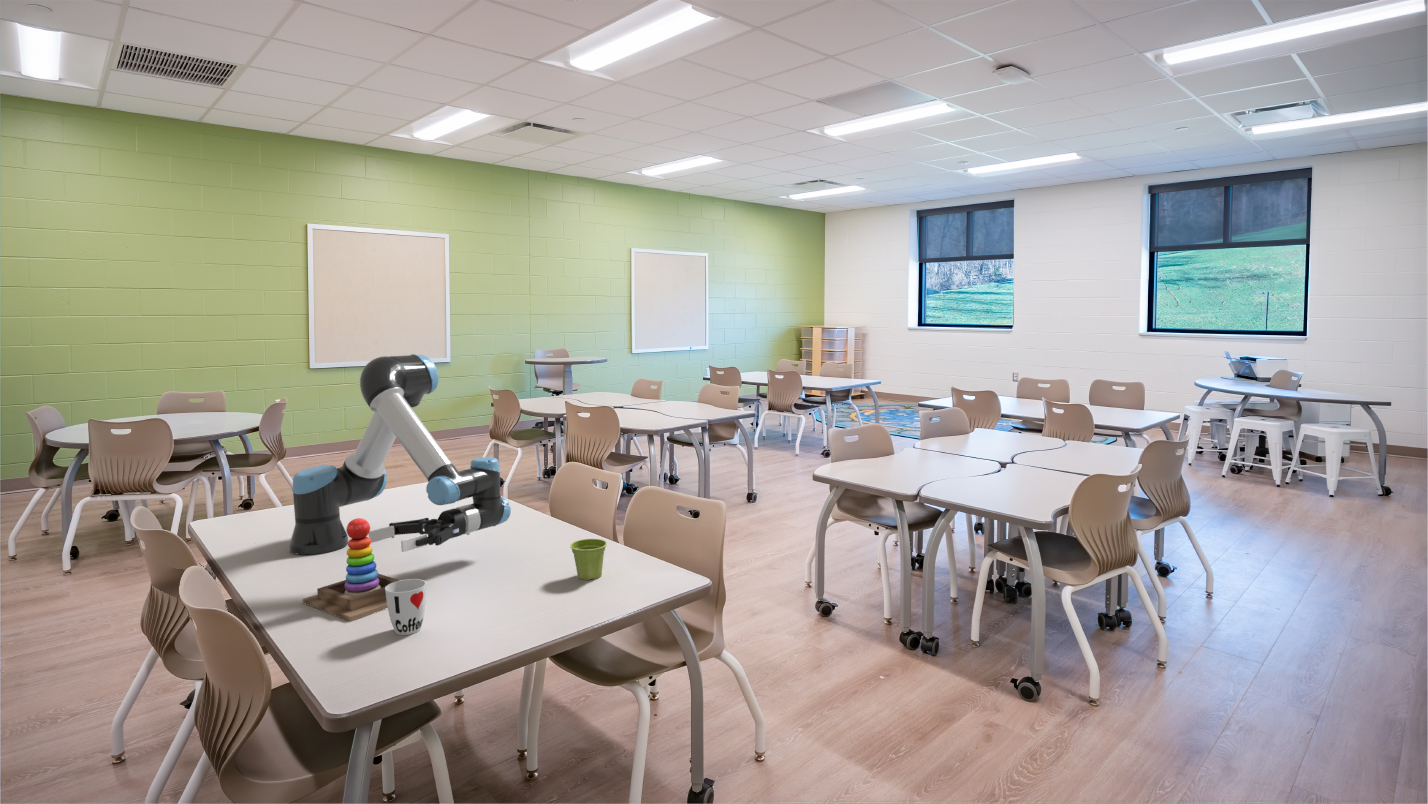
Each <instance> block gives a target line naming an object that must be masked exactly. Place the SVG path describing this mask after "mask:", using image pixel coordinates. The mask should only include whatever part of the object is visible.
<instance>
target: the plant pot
mask: <svg viewBox="0 0 1428 804" xmlns="http://www.w3.org/2000/svg"><path fill="white" fill-rule="evenodd" d="M607 545H608V542H607V541H606V540H604V539H600V538H584V539H579V540H574V541H573V542H571V543H570V544H569V547H570V549H571V551H572V554H573V558H574V563H575V567H576V569H575V570H576V573H577V574H576V575H577V578H578V579H580V580H584V581H591V579H594V580H596V579H599V578H601V577H602V574H603V565H604V554H605V551H606V547H607Z"/></svg>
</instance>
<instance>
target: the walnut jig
mask: <svg viewBox="0 0 1428 804" xmlns="http://www.w3.org/2000/svg"><path fill="white" fill-rule="evenodd" d="M377 578H378V579H379V584H378V585H380V586H381V588H380V589H377V590H374V591H371V592H368V593H365V594H362V595H359V596H356V597H351V596H348V595H346V594H344V593H345V591H346V589H345V583H346V582H347V580H346V579H344V580H340V581H337V582H335V583H331V584H329V585H325V586H322V587H318V588H317V589H316V591H317V594H313V595H311V596H308V597H305V598H302V603H303V602H304V603H306V604H305V605H307V604H309V605H311V606H310V607H312V606H313V607H312V608H314V607H316V608H315V609H317V608H319V609H318V610H320V609H321V610H320V611H322V610H324V611H323V612H325V611H326V612H325V613H327V614H330V613H331V614H330V615H333V616H335V615H336V617H338V616H339V617H338V618H341V619H343V618H344V619H343V620H346V621H348V620H349V622H353V621H356V620H359V619H362V618H365V617H367V615H368V616H370V615H372V613H373V614H375V613H374V612H376V613H379V612H381V611H384V610H386V609H385V608H387V600H386V592H385V587H386V586H387V585H389V584H391V583H393V582H396V581H401V580H402V579H401V580H400V579H397V578H394V577H391V576H388V575H384V574H383V573H382V574H381V573H378V576H377ZM304 603H303V604H304ZM309 605H308V606H309ZM383 609H384V610H383ZM387 609H388V608H387ZM380 610H381V611H380ZM378 611H379V612H378ZM364 616H365V617H364Z"/></svg>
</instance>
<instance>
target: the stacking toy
mask: <svg viewBox="0 0 1428 804" xmlns="http://www.w3.org/2000/svg"><path fill="white" fill-rule="evenodd" d="M370 531H371V525H370V523H369V521H367V519H364V518H360V517H358V518H354V519H352V520H350V521H349V522H348V524H347V526H346V533H347V536H348V538H350V539H348V544H347V546H348V549H347V550H346V555H347V558H346V564H347V566H346V567H345V568H346V569H345V570H346V575H345V580H347V582H346V583H345V589H346V591H345V593H344V594H346V595H348V596H351V597H356V596H359V595H362V594H365V593H368V592H371V591H374V590H377V589H380V588H381V586H380V585H378V584H379V579H378V578H377V576H378V574H379V572H378V570H377V563H376V561H374V560H375V555H374V553H373V547H372V546H371V544H372V543H371V539H370V538H369V532H370Z"/></svg>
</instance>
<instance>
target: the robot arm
mask: <svg viewBox="0 0 1428 804" xmlns="http://www.w3.org/2000/svg"><path fill="white" fill-rule="evenodd" d="M439 379H440V377H439V373H438V368H437V366H436V364H435V362H433V360H432V359H431V358H429V357H428V356H426V355H424V354H423V355H422V354H409V355H407V354H405V355H391V356H387V355H385V356H379V357H376V358H374V359H372V360H370V361H369V362H368V363H367V364H366V365H365V366H364V368H363V369H362V371H361V374H360V377H359V388H360V391H361V395H362V397H363V399H364V401H365V403H366V404H367V406H368V407H369V408H370V410H371V411H372V412H373V414H372V416H371V418H370V421H369V422H368V425H367V427H366V429H365V431H364V433H363V434H362V437H361V439H360V441H359V443H358V445H357V448H356V450H355V451H354V452H351V453H350V454H348V455H347V456H346V457H345V460H344V462H343V464H342V465H341V466H340V467H336V466H334V465H332V464H331V465H330V464H329V465H328V464H326V465H325V464H323V465H322V464H321V465H318V466H311V467H307V468H305V469H302V470H300V471H298V472H296V473H295V474H294V475H293V478H292V488H291V492H292V494H293V498H292V499H293V509H294V511H293V512H294V523H295V524H294V528H293V531H292V535H291V538H290V541H289V542H290V543H289V551H290V552H291V553H292V552H293V553H292V554H294V553H298V554H297V555H302V554H308V555H318V553H320V554H325V553H330V552H333V551H337V550H341V549H343V548H345V547H347V546H348V541H349V536H348V534H347V530H345V527H344V524H343V523H342V519H341V517H340V516H341V515H340V513H341V512H340V508H341V507H344V506H349V505H353V504H357V503H363V502H365V501H369V500H372V499H374V498H376V497H379V496H380V495H381V494H382V493H383V492H384V490H385V489H386V486H387V483H388V482H387V481H388V480H387V478H386V477H387V475H388V474H387V471H386V468H385V464H384V462H385V460H386V458H387V456H388V455H389V452H390V450H391V448H392V446H393V445H394V442H395V441H396V439H397V440H398V441H399V443H400V444H401V446H402V447H403V448H404V450H405V451H406V452H407V454H408V455H409V457H410V458H411V460H412V461H413V463H415V465H416V466H417V468H418V469H419V470H420V472H421V473H422V474H423V476H424V477H425V478H426V480H427V481H428V482H427V483H426V487H425V490H426V491H425V493H426V494H427V498H428V499H429V501H430V502H431V503H432V504H434V505H437V506H445V505H451V504H455V503H456V502H459V501H462V500H466V499H469V498H472V503H469V504H465V505H462V506H457V507H455V508H450V509H446V510H443V511H442V512H441V513H440V514H439V515H438V518H431V519H429V517H425V518H420V519H413V520H405V521H397V522H391V523H389V524H388V526H385V527H382V528H378V529H375V530H370V532H369V534H368V537H369V538H370V539H371V544H372V543H376V542H379V541H383V540H387V539H390V538H392V539H394V538H395V537H396V536H397V535H399V536H400V535H410V534H412V535H413V534H419V535H417V536H412V537H409V538H405V539H403V540H402V539H401V540H400V544H401V546H400V548H401V552H403V553H405V552H409V551H413V550H416V549H418V548H423V547H425V546H428V545H429V546H433V545H435V546H437V547H438V546H441V545H442V544H444V543H445V542H447V541H448V540H450V539H453V538H458V537H461V536H462V535H467V536H469V535H470V534H471V533H473V532H476V531H480V530H484V529H487V528H491V527H496V526H498V525H501V524H504V523H505V522H507V521H508V520H509V518H510V516H511V510H512V508H511V506H510V503H509V500H507V499H506V498H505V497H502V496H501V477H500V476H501V475H500V474H501V471H500V462H499V459H497V458H496V457H491V456H483V457H477V458H473V459H472V460H471V461H470V468H467V469H463V470H458V469H457V468H456V466H455V465H454V464H453V463H452V461H451V459H450V458H449V457H448V455H446V453H445V452H444V450H443V449H442V448H441V446H440V445H439V443H438V442H437V441H436V439H435V437H433V435H432V433H430V431H429V430H428V428H427V427H426V426H425V424H424V423H423V422H422V419H420V417H419V416H418V415H417V413H416V412H415V411H414V408H417V407H418V406H419V405H420V403H421V401H422V399H423V398H424V397H425V395H428V394H431V393H434V392H435V391H436V389H437V388H438V386H439V381H440V380H439Z"/></svg>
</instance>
